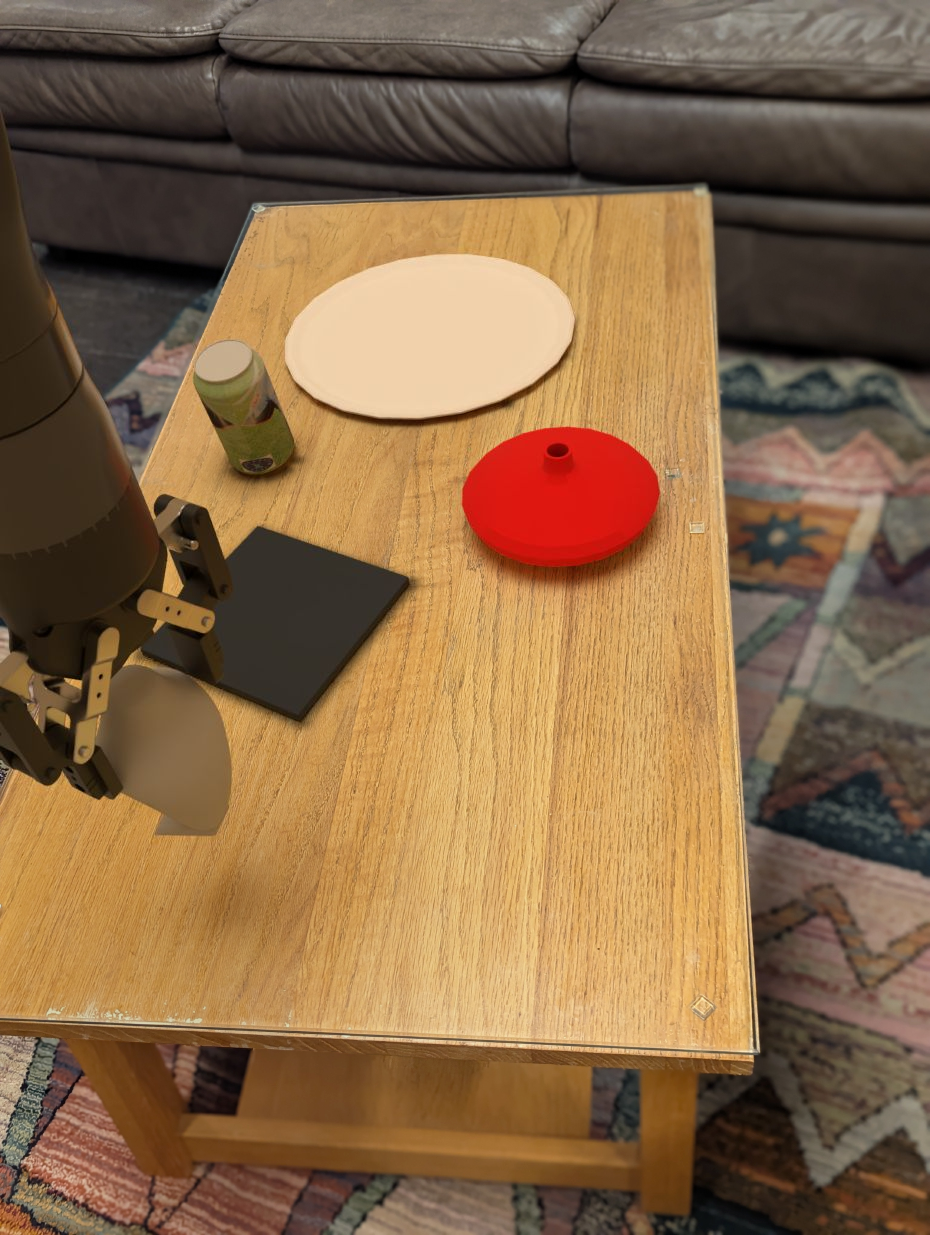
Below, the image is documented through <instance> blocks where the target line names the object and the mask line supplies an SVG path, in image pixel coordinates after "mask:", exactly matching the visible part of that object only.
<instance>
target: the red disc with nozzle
mask: <svg viewBox="0 0 930 1235" xmlns="http://www.w3.org/2000/svg"><path fill="white" fill-rule="evenodd" d="M461 489H462V490H461V491H462V492H461V506H462V510H463V512H464V515H465V517H466V521H467V523H468V524H469V526H470V527H471V529H472V530H473V532H474V533H475V534H476V536H478V538H479V539H480V540H481V542H482V543H483V544H484V545H485V546H487V547H488V548H489V549H492V550H493V551H495V552H496V553H498V554H499V555H501V556H503V557H505V558H508V559H510V560H513V561H516V562H520V563H522V564H525V565H530V566H531V565H532V566H540V567H548V568H556V567H557V568H558V567H559V568H560V567H578V566H581V565H585V564H588V563H595V562H597V561H601V560H604V559H606V558H608V557H610V556H612V555H614V554H616V553H619V552H621V551H622V550H624V549H626V548H627V547H628V546H630V545H631V544H632V543H633V542H634V541H636V540H637V539H638V538H640V536H641V535H642V534H643V532H644V531H645V529H646V528H647V527H648V525H649V524H650V523H651V521H652V519H653V517H654V516H655V512H656V511H657V507H658V503H659V500H660V495H661V490H660V483H659V477H658V474H657V473H656V471H655V469H654V468H653V466H652V465H651V463H650V461H649V459H647V458H646V457H645V456H643V454H642V453H640V452H639V451H638V450H637V449H636V448H634V447H633V446H632V445H631V444H629V443H628V442H626V441H625V440H623V439H620V438H618V437H617V436H615V435H613V434H610V433H607V432H603V431H600V430H596V429H593V428H587V427H576V426H553V427H543V428H540V429H535V430H531V431H527V432H522V433H520V434H518V435H516V436H513V437H511V438H508V439H506V440H503V441H502V442H500V443H499V444H497V445H496V446H495V447H493V448H492V449H490V450H489V451H487V452H486V453H485V454H484V455H483V456H482V457H481V458H480V460H478V462H477V463H475V465H474V467H472V469H471V470H470V471H469V472H468V475H467V477H466V479H465V481H464V484H463V486H462V488H461Z"/></svg>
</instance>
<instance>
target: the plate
mask: <svg viewBox="0 0 930 1235" xmlns="http://www.w3.org/2000/svg"><path fill="white" fill-rule="evenodd" d="M575 322H576V318H575V314H574V312H573V308H572V304H571V302H570V298H569V297H568V296H567V295H566V294H565V292H563V290H562V289H561V288H560V287H559V286H558V285H557V284H556V282H554V281H553V280H552V279H550V278H548V277H547V276H545V275H543V274H542V273H540V272H538V271H537V270H535V269H534V268H532V267H529V266H526V265H523V264H520V263H517V262H514V261H510V260H507V259H504V258H501V257H493V256H486V255H478V254H472V253H457V254H455V253H453V254H452V253H450V254H446V253H443V254H442V253H441V254H439V253H438V254H437V253H436V254H429V255H422V256H416V257H415V256H414V257H407V258H402V259H398V260H394V261H390V262H387V263H383V264H379V265H377V266H372V267H370V268H366V269H364V270H362V271H359V272H357V273H355V274H352V275H351V276H348V277H346V278H344V279H342V280H340V281H338V282H337V283H335V284H333V285H332V286H330V287H329V288H327V289H326V290H324V291H323V292H321V293H319V295H317V296H315V297H314V298H313V299H312V300H311V301H310V302H309V303H308V304H306V306H305V307H304V308H303V309H302V311H300V312H299V314H297V316H296V317H295V318H294V320H293V322H292V323H291V326H290V328H289V330H288V333H287V334H286V336H285V338H284V362H285V364H286V367H287V368H288V370H289V373H290V375H291V377H292V379H293V381H294V383H296V384H297V385H298V386H299V387H300V388H301V389H302V390H304V391H305V392H306V393H307V394H308V395H309V396H311V398H313V399H315V400H316V401H319V402H321V403H323V404H326V405H328V406H329V407H332V408H334V409H336V410H339V411H341V412H344V413H347V414H348V413H349V414H354V415H359V416H364V417H369V418H373V419H380V420H426V419H434V418H439V417H447V416H453V415H461V414H465V413H467V412H470V411H474V410H477V409H480V408H484V407H487V406H491V405H493V404H496V403H500V402H502V401H504V400H506V399H508V398H510V397H511V396H512V397H513V395H515V394H517V393H519V392H521V391H523V390H525V389H527V388H529V387H531V386H533V385H534V384H535V383H537V381H539V380H540V379H542V377H544V376H545V375H546V374H547V373H548V372H550V371H551V370H552V369H553V368H554V367H555V366H557V365H558V363H559V362H560V360H561V359H562V357H563V356H564V354H565V352H566V351H567V350H568V348H569V346H570V345H571V343H572V339H573V334H574V329H575Z"/></svg>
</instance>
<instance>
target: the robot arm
mask: <svg viewBox="0 0 930 1235" xmlns="http://www.w3.org/2000/svg"><path fill="white" fill-rule="evenodd" d="M18 176H19V175H18V173H17V168H16V164H15V160H14V156H13V152H12V148H11V144H10V141H9V136H8V132H7V127H6V123H5V118H4V115H3V111H2V107H1V106H0V618H1V620H3V622H4V624H5V625H6V627H7V631H8V650H9V654H8V655H7V656H6V657H5V658H4V659H3V660H2V661H1V662H0V760H1V761H2V763H3V764H4V765H5V766H6V767H8V768H10V769H12V770H15V771H18V772H20V773H22V774H24V775H26V776H27V777H30V778H32V779H33V780H34V781H36V783H39V784H41V785H43V786H45V787H50V786H52V785H54V784H55V783H57V781H58V780H59V779H60V777H61V775H62V774H63V775H64V776H65V778H66V779H67V781H68V783H69V785H70V786H71V788H74V789H75V790H77V791H79V792H81V793H83V794H85V795H87V796H89V797H90V798H93V799H95V800H97V801H100V800H102V798H104V797H105V798H107V799H109V800H112V801H114V800H115V799H116V798H117V797H118V796H119V795H120V792H121V791H122V790H123V789H124V788H123V786H122V784H121V782H120V780H119V778H118V777H117V775H116V773H115V771H114V770H113V768H112V766H111V764H110V763H109V761H108V759H107V757H106V755H105V754H104V752H103V750H102V748H101V747H99V746H97V745H95V739H96V735H97V731H98V720H99V716H101V715H102V714H104V713H105V712H106V711H107V706H108V697H109V688H110V680H111V678H112V677H113V676H114V675H115V674H116V673H117V672H118V671H119V670H120V669H121V668H122V667H123V666H125V665H126V662H127V661H128V660H129V659H130V656H131V655H132V654H133V653H135V652H136V651H137V650H140V648H141V647H142V646H143V645H145V644H146V643H147V641H148V640H149V639H150V638H151V637H152V636H153V635H154V634H155V631H154V628H155V627H156V624H157V622H158V620H159V621H161V622H164V623H165V622H168V623H170V624H169V625H168V626H167V627H166V628H167V630H168V633H169V635H170V637H171V639H172V642H173V644H174V646H175V649H176V651H177V653H178V656H179V658H180V660H181V662H182V665H183V667H184V669H185V670H186V672H187V673H188V674H187V673H186V674H187V675H189V674H190V675H189V676H190V677H193V678H195V679H197V680H199V681H202V682H204V683H207V684H208V685H211V686H215V685H216V684H217V683H218V682H219V680H220V679H221V678H222V677H223V676H224V672H223V669H222V667H221V664H222V663H223V652H222V649H221V647H220V644H219V642H218V639H217V636H216V634H215V631H214V628H213V624H214V621H215V615H214V612H213V609H214V607H215V605H216V603H217V602H218V600H221V601H225V600H227V599H228V598H229V597H230V595H231V594H232V591H233V581H232V578H231V575H230V572H229V569H228V566H227V564H226V561H225V559H226V558H225V555H224V552H223V550H222V547H221V543H220V541H219V538H218V534H217V533H216V529H215V527H214V524H213V520H212V518H211V515H210V512H209V509H208V508H206V507H204V506H202V505H199V504H196V503H192V502H190V501H187V500H185V499H182V498H178V497H176V496H172V495H170V494H167V493H162V494H160V495H159V496H158V497H157V498H156V499H155V501H154V503H153V515H154V517H155V518H153V516H152V513H151V511H150V509H149V508H150V507H149V506H148V504H147V501H146V498H145V495H144V493H143V491H142V488H141V486H140V484H139V481H138V478H137V476H136V474H135V471H134V469H133V466H132V463H131V461H130V458H129V457H128V454H127V452H126V449H125V447H124V445H123V442H122V439H121V437H120V434H119V432H118V429H117V427H116V425H115V421H114V419H113V417H112V415H111V412H110V410H109V409H108V408H109V407H108V406H107V404H106V402H105V400H104V398H103V397H102V394H101V392H100V391H99V389H98V388H97V386H96V385H95V383H94V381H93V380H92V378H91V376H90V374H89V373H88V371H87V369H86V368H85V365H84V363H83V360H82V358H81V357H80V354H79V352H78V350H77V348H76V344H75V342H74V340H73V337H72V335H71V332H70V330H69V327H68V325H67V322H66V320H65V318H64V316H63V313H62V310H61V308H60V305H59V303H58V301H57V298H56V295H55V293H54V290H53V288H52V286H51V284H50V282H49V279H48V278H47V275H46V273H45V272H44V269H43V268H42V265H41V264H40V262H39V259H38V257H37V255H36V251H35V249H34V246H33V243H32V238H31V234H30V230H29V226H28V221H27V217H26V216H27V215H26V211H25V206H24V202H23V195H22V191H21V185H20V182H19V177H18ZM168 552H169V554H170V557H171V560H172V562H173V564H174V567H175V569H176V572H177V575H178V577H179V580H180V582H181V584H182V588H181V590H180V591H179V593H178V595H177V596H175V595H173V594H170V593H167V592H165V591H163V590H164V584H165V576H166V570H167V565H168V564H167V563H168V558H169V557H168V555H169V554H168ZM32 678H33V682H32V694H33V696H34V698H35V700H36V701H33V700H31V699H32V694H31V692H30V682H31V679H32ZM66 679H67V680H74V681H81V685H80V686H81V687H80V688H79V687H77V686H75V685H73V684H70V683H68V681H66ZM36 702H37V703H38V716H37V717H38V718H37V722H36V721H35V719H34V717H33V716H32V714H31V713H33V712H34V711H35V709H36V706H37V704H36ZM67 716H68V718H69V727H67V726H66V720H67Z"/></svg>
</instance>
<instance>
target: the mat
mask: <svg viewBox="0 0 930 1235" xmlns="http://www.w3.org/2000/svg"><path fill="white" fill-rule="evenodd" d="M225 561H226V564H227V566H228V569H229V572H230V575H231V578H232V581H233V591H232V594H231V595H230V597H229V598H228V599H227V600H225V601H221V600H218V602H217V603H216V605H215V607H214V609H213V612H214V615H215V621H214V624H213V628H214V631H215V634H216V636H217V639H218V642H219V644H220V647H221V649H222V652H223V663H222V664H221V667H222V669H223V672H224V676H223V677H222V678H221V679H220V680H219V682H218V683H217V684H216V685H214V686H215V687H218V688H220V689H222V690H225V691H227V692H230V693H232V694H235V695H236V696H239V697H242V698H243V699H246V700H249V701H251V702H252V703H256V704H258V705H260V706H262V707H264V708H268V709H269V710H272V711H275V712H277V713H279V714H281V715H284V716H286V717H288V718H291V719H293V720H296V721H297V722H301V721H302V720H303V718H304V717H305V716H306V715H307V714H308V713H309V711H310V710H311V708H312V707H313V706H314V705H315V703H316V702H317V701H318V700H319V699H320V697H321V696H322V695H323V694H324V692H325V691H326V690H327V689H328V687H329V686H330V685H331V683H332V682H333V681H334V680H335V678H336V677H337V676H338V675H339V674H340V672H341V671H342V670H343V668H344V667H345V666H346V664H347V663H348V662H349V661H350V660H351V658H353V656H354V655H355V653H356V652H357V651H358V650H359V648H360V647H361V646H362V644H364V643H365V641H366V640H367V638H368V637H369V636H370V635H371V634H372V633H373V630H375V629H376V627H377V626H378V625H379V624H380V622H381V621H382V619H383V618H384V617H385V616H386V615H387V613H388V612H389V611H390V609H391V608H392V607H393V605H395V603H397V601H398V600H399V598H400V597H401V596H402V595H403V593H404V592H405V591H406V589H407V588H408V587H409V585H410V584H411V582H410V578H409V576H406V575H404V574H401V573H399V572H395V571H393V570H389V569H387V568H383V567H380V566H377V565H375V564H371V563H369V562H366V561H363V560H359V559H357V558H354V557H351V556H348V555H345V554H342V553H340V552H336V551H333V550H331V549H328V548H325V547H322V546H318V545H316V544H312V543H310V542H307V541H305V540H304V541H303V540H301V539H298V538H295V537H292V536H290V535H287V534H283V533H280V532H277V531H274V530H272V529H269V528H265V527H263V526H260V525H257V526H256V527H255V528H254V529H253V530H252V531H251V532H250V533H249V534H248V535H247V537H245V538H244V539H243V540H242V541H241V542H240V543H239V545H238V546H237V547H236V548H235V549H234V550H232V552H231V553H230V554H229V555H228V556H227V557H226V558H225ZM169 624H170V623H168V622H165V621H164V622H163V623H162V625H160V626H159V627H158V629H157V630H156V631H154V633H155V634H154V635H153V636H152V637H151V638H150V639H149V640H148V641H147V643H146V644H145V645H143V646H142V647H140V648H139V650H140V652H141V654H142V655H143V656H144V657H147V658H149V659H152V660H154V661H157V662H159V663H161V664H164V665H166V666H167V667H169V668H172V669H175V670H177V671H180V672H182V673H184V674H186V675H188V676H191V675H190V674H188V673H187V672H186V670H185V669H184V667H183V665H182V662H181V660H180V658H179V656H178V653H177V651H176V649H175V646H174V644H173V642H172V639H171V637H170V635H169V633H168V630H167V628H166V627H167V626H168V625H169Z"/></svg>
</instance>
